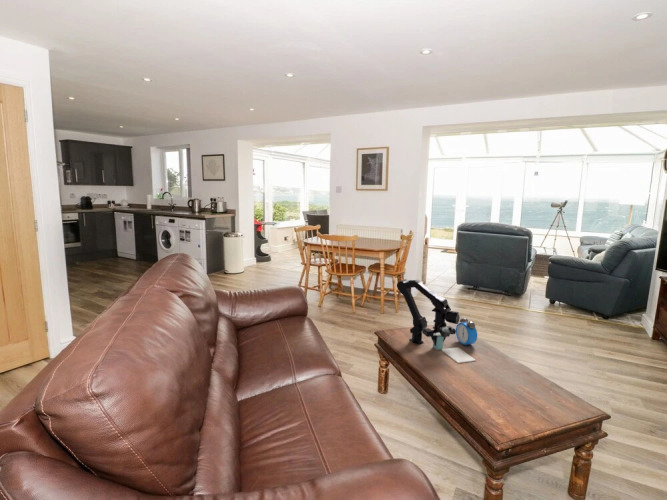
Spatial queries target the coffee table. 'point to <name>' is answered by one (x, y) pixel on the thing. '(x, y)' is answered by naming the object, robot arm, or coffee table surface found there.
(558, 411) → the coffee table surface
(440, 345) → the block
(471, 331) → the alarm clock
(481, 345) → the coffee table surface
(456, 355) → the mat
